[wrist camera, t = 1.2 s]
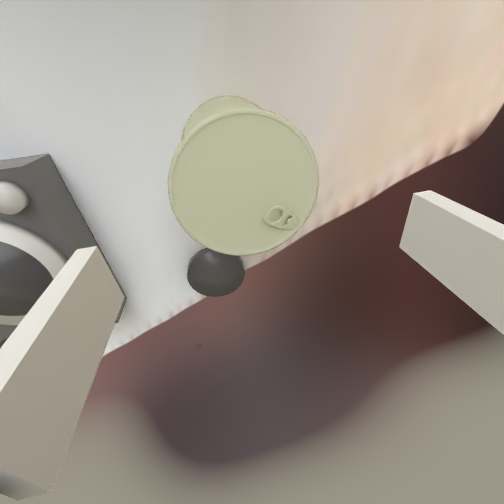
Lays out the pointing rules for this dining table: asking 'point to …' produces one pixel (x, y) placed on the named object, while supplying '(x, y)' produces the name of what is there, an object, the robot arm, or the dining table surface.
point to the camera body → (35, 235)
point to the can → (241, 177)
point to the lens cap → (215, 272)
